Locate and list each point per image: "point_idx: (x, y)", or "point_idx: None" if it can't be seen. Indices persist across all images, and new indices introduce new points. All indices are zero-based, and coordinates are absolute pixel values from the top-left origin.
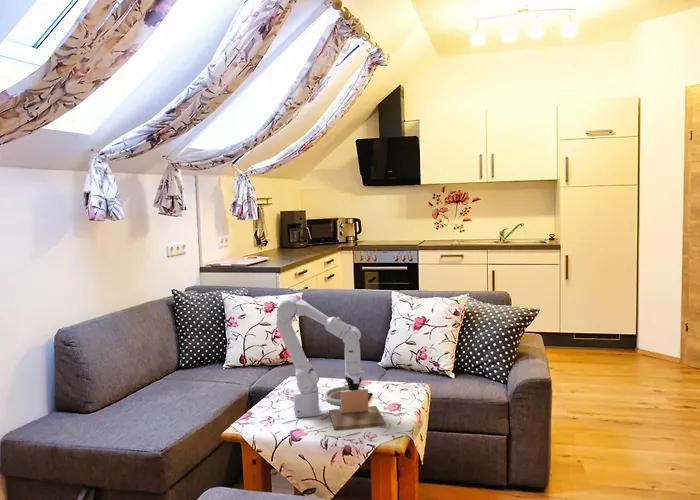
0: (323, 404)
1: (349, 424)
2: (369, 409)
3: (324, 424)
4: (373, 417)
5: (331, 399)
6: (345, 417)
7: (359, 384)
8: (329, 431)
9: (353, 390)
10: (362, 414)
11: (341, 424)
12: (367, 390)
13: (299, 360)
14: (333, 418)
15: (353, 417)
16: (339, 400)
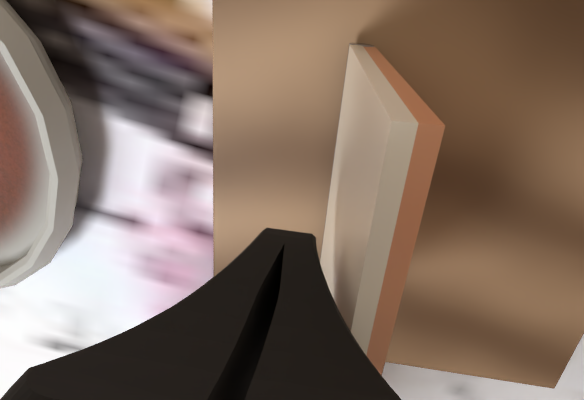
0: (46, 301)
1: (582, 293)
2: (302, 6)
3: (409, 386)
4: (557, 34)
5: (18, 278)
6: (412, 277)
7: (383, 380)
8: (543, 395)
9: None
10: None
11: (542, 340)
12: (439, 136)
13: None
14: (390, 351)
15: (444, 221)
16: (51, 235)
